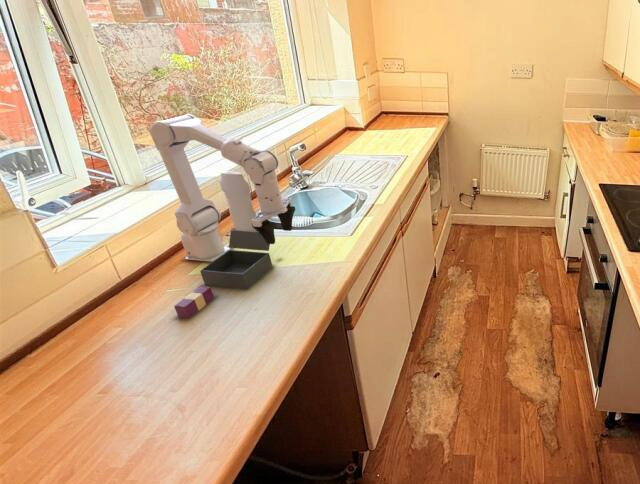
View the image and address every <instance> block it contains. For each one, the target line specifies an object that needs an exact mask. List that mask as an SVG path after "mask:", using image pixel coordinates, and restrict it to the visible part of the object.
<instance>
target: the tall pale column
mask: <svg viewBox="0 0 640 484" xmlns="http://www.w3.org/2000/svg"><path fill="white" fill-rule="evenodd" d="M218 183H219V186H220V189H221V191H222V192H223V193H224V196H225V200H226V202H227V205H228V211H229V212H228V213H229V215H230V218H231V222H232V224H233V229H234V230H235V231H248V232H258V231H257V230H256V229H254V228H253V227H252V221H251V220H253V219H254V218H255V217H256V216H257V212H256V210H255V208H254V205H253V201H252V196H251V194H250V193H251V187H250V183H249V182H248V181H247V180H246V179H245V177H244V175H243V173H241V172H237V171H233V170H232V171H231V170H228V171H221V172H220V180H219V182H218Z"/></svg>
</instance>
